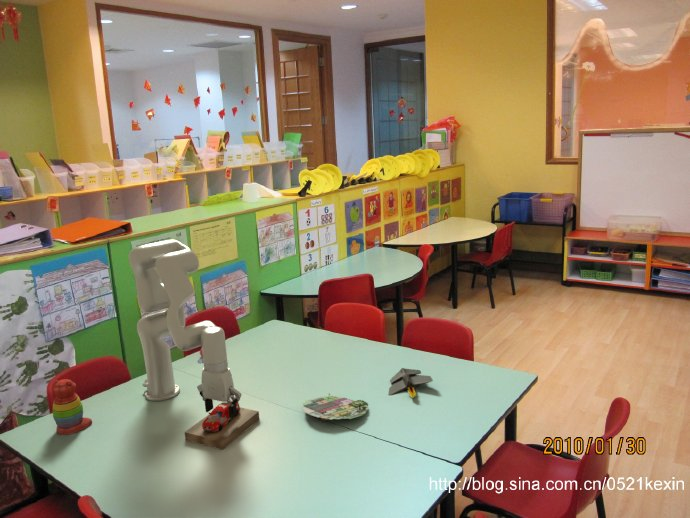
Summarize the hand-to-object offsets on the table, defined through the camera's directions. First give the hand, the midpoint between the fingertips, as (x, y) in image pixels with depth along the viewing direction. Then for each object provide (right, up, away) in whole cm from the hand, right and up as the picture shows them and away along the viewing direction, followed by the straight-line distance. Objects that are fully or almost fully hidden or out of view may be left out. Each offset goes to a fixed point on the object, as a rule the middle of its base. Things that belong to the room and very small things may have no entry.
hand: (221, 413), depth 191 cm
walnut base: (0, -6, +1) cm, 6 cm away
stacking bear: (-53, -7, +8) cm, 54 cm away
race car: (0, -3, +1) cm, 3 cm away
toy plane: (+64, +3, +25) cm, 69 cm away
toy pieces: (-18, +7, +60) cm, 63 cm away
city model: (+38, -2, +9) cm, 39 cm away
